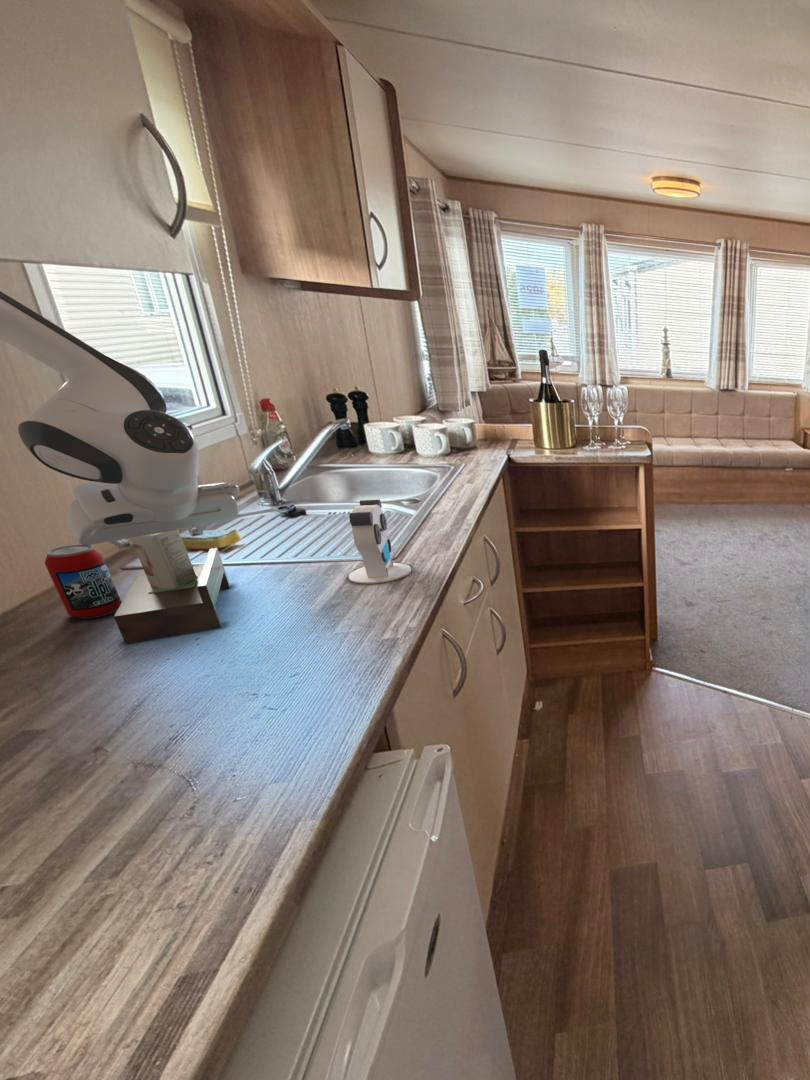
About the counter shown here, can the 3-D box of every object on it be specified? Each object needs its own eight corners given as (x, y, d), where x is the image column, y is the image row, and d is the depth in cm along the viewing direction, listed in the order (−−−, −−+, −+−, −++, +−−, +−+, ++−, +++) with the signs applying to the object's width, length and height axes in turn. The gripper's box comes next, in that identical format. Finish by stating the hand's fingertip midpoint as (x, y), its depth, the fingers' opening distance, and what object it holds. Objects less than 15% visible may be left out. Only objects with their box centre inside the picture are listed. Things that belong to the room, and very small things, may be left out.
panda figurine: (406, 581, 132) (391, 512, 126) (342, 587, 128) (323, 515, 122) (414, 562, 143) (401, 497, 136) (355, 566, 139) (338, 499, 132)
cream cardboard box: (172, 578, 116) (152, 525, 112) (198, 578, 117) (179, 525, 113) (148, 589, 111) (126, 534, 107) (176, 589, 112) (155, 535, 108)
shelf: (125, 644, 104) (106, 599, 101) (147, 597, 120) (131, 557, 117) (221, 627, 111) (206, 585, 108) (230, 585, 127) (217, 547, 124)
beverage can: (88, 623, 110) (59, 558, 105) (59, 617, 111) (29, 553, 106) (134, 607, 116) (108, 545, 111) (106, 602, 117) (79, 541, 112)
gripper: (230, 467, 109) (225, 511, 118) (57, 487, 93) (66, 537, 102) (249, 497, 109) (243, 539, 117) (78, 523, 93) (86, 570, 101)
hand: (159, 538), depth 109 cm, fingers open, 8 cm apart
